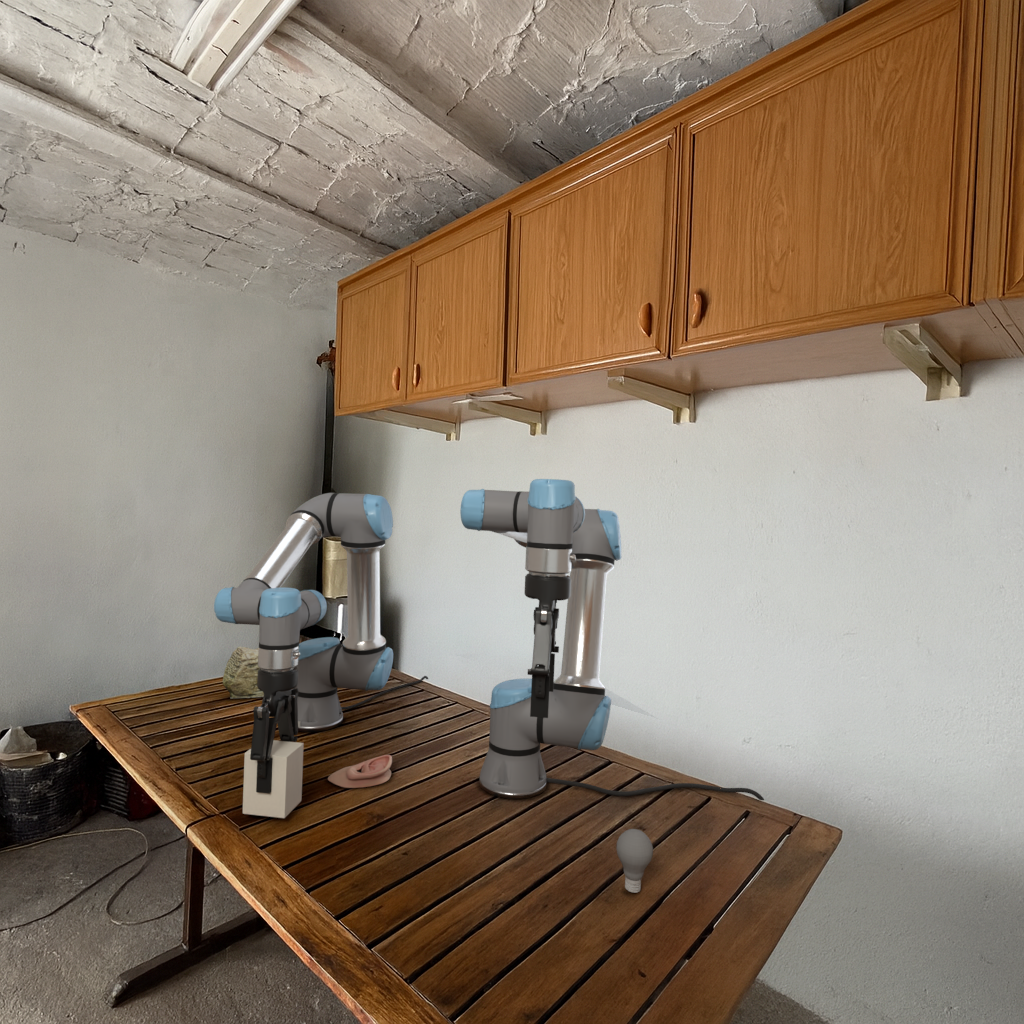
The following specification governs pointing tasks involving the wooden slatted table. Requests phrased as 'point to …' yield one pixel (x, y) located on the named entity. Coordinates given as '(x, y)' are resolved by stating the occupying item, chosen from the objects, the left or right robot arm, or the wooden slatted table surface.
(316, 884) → the wooden slatted table surface
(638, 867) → the light bulb
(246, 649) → the fossil
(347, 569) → the left robot arm
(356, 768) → the anatomical model
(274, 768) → the block
